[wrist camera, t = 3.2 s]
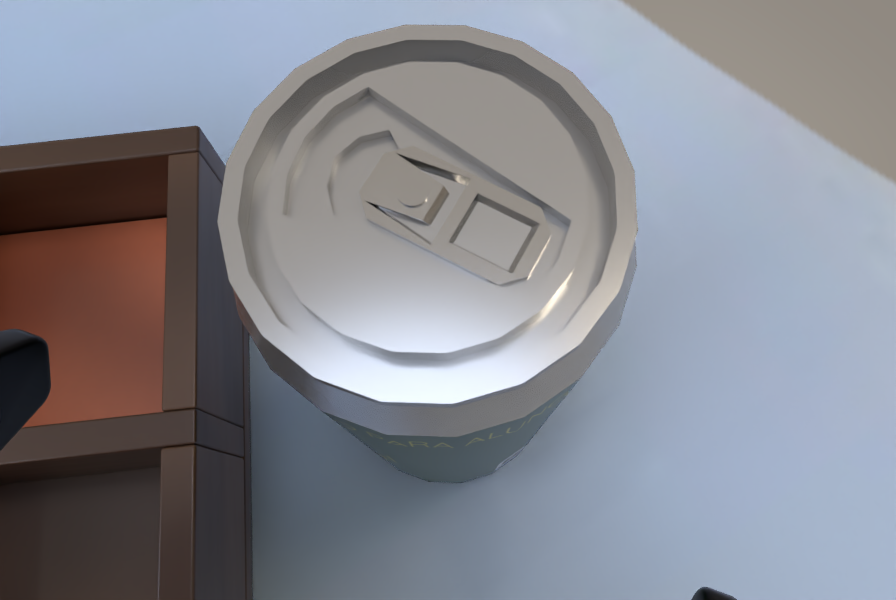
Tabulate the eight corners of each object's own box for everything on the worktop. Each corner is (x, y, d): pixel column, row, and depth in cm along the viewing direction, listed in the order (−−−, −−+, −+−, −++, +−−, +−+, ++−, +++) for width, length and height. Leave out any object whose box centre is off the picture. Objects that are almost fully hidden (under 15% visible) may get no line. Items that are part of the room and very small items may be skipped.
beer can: (574, 351, 20) (730, 113, 8) (488, 521, 18) (529, 525, 7) (414, 268, 20) (351, -50, 9) (319, 425, 19) (104, 283, 8)
